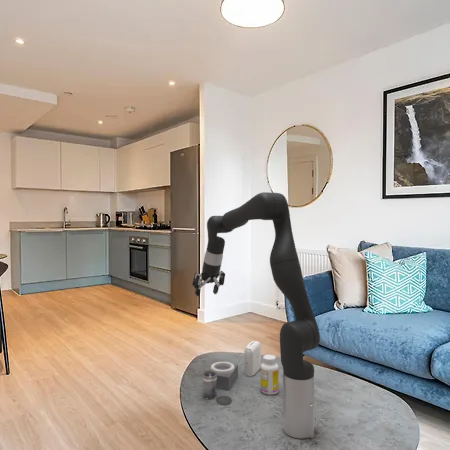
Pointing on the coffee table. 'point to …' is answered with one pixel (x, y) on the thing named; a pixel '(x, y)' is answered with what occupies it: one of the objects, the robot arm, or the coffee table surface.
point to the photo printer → (252, 358)
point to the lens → (209, 384)
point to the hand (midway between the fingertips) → (206, 294)
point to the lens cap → (223, 400)
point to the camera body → (225, 374)
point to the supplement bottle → (269, 375)
